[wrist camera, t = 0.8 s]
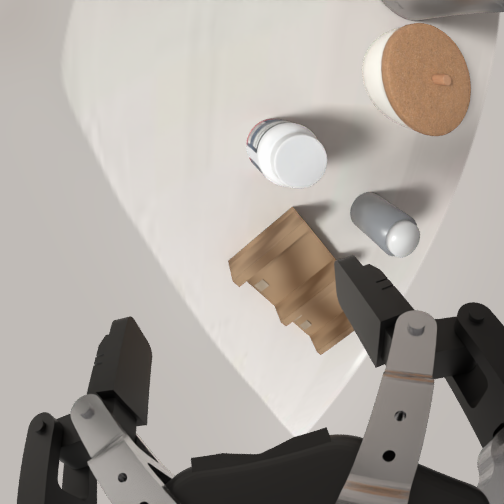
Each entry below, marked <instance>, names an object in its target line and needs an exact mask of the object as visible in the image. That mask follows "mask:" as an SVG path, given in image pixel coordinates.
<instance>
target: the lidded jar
mask: <svg viewBox="0 0 504 504" xmlns="http://www.w3.org/2000/svg"><path fill="white" fill-rule="evenodd" d="M362 75H363V82H364V86H365V89H366V92H367V94H368V96H369V98H370V100H371V101H372V102H373V104H374V105H375V106H376V107H377V108H378V110H379V111H380V112H381V113H382V114H384V115H385V116H386V117H387V118H389V119H390V120H392V121H394V122H395V123H397V124H399V125H401V126H404V127H406V128H409V129H412V130H415V131H417V132H419V133H422V134H425V135H430V136H441V135H445V134H447V133H449V132H451V131H452V130H454V129H455V128H456V127H457V126H458V125H459V124H460V123H461V121H462V120H463V118H464V116H465V114H466V112H467V109H468V106H469V102H470V93H471V85H470V76H469V71H468V68H467V65H466V62H465V60H464V57H463V55H462V53H461V52H460V50H459V48H458V47H457V45H456V44H455V43H454V42H453V41H452V39H451V38H450V37H449V36H447V35H446V34H445V33H444V32H443V31H441V30H440V29H438V28H436V27H434V26H432V25H428V24H424V23H415V24H409V25H405V26H403V27H400V28H397V29H393V30H391V31H389V32H387V33H384V34H383V35H381V36H380V37H379V38H377V39H376V40H375V41H374V42H373V43H372V44H371V45H370V47H369V48H368V50H367V52H366V54H365V57H364V60H363V65H362Z"/></svg>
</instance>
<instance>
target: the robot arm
mask: <svg viewBox="0 0 504 504" xmlns="http://www.w3.org/2000/svg"><path fill="white" fill-rule="evenodd" d="M382 1H383V2H384V4H385V5H386V6H387V7H388V8H390V9H391V10H392V11H393V12H395V13H396V14H397V15H399V16H401V17H403V18H405V19H409V20H414V21H419V20H425V19H431V18H437V17H446V16H454V15H463V14H473V13H488V12H504V0H382ZM334 269H335V281H336V293H337V298H338V301H339V304H340V306H341V308H342V310H343V312H344V313H345V315H346V317H347V318H348V320H349V322H350V324H351V325H352V327H353V329H354V330H355V332H356V334H357V336H358V337H359V339H360V341H361V342H362V344H363V346H364V348H365V349H366V351H367V353H368V355H369V356H370V358H371V360H372V362H373V363H374V365H375V367H379V366H381V365H384V364H385V365H386V369H385V372H384V373H383V377H382V380H381V383H380V387H379V391H378V394H377V397H376V401H375V404H374V407H373V410H372V414H371V417H370V420H369V423H368V426H367V429H366V432H365V435H364V438H361V437H357V436H351V435H329V433H328V430H327V428H323V429H320V430H317V431H314V432H310V433H307V434H304V435H300V436H297V437H293V438H291V439H289V440H287V441H286V442H283V443H282V444H280V445H278V446H276V447H274V448H272V449H269V450H267V451H265V452H263V453H261V454H227V453H226V454H225V453H222V454H216V455H209V456H203V457H196V458H191V464H192V467H190V468H187V469H185V470H183V471H182V472H180V473H179V474H177V475H176V476H175V475H174V474H172V473H171V472H170V471H169V470H168V469H167V468H166V467H165V466H164V465H163V464H162V463H161V462H160V461H159V459H157V457H156V456H155V455H154V454H153V452H152V451H151V450H150V449H149V448H148V446H147V445H146V444H145V443H144V442H143V440H142V439H141V438H140V437H139V435H138V434H136V426H142V425H147V414H148V399H149V386H150V374H151V363H152V352H151V348H150V345H149V343H148V341H147V340H146V338H145V336H144V335H143V333H142V332H141V330H140V328H139V327H138V325H137V323H136V322H135V320H134V319H133V318H132V317H126V318H122V319H118V320H114V321H113V322H112V326H111V329H110V333H109V335H106V336H105V337H104V339H103V340H102V342H101V343H100V345H99V347H98V351H97V357H96V358H95V362H94V364H95V366H93V370H92V374H91V379H90V382H89V387H88V392H87V395H84V396H82V397H80V398H79V399H78V400H77V401H76V402H75V403H74V405H73V407H72V409H71V414H69V415H66V416H63V417H61V418H58V419H55V418H54V417H53V416H51V415H50V414H49V413H46V412H43V413H40V414H38V415H37V416H35V417H34V418H33V420H32V421H31V423H30V425H29V429H28V433H27V438H26V443H25V448H24V454H23V459H22V465H21V473H20V479H19V487H18V497H17V504H97V481H98V482H99V484H100V486H101V487H102V489H103V490H104V492H105V494H106V495H107V496H108V498H109V499H110V501H111V503H112V504H504V326H503V325H502V323H501V322H500V321H499V320H498V319H497V318H496V316H495V315H494V314H493V313H492V312H491V310H490V309H489V308H487V307H486V306H484V305H482V304H480V303H474V302H473V303H467V304H465V305H463V306H462V307H461V308H460V309H459V311H458V314H457V317H450V318H444V319H434V318H433V317H432V316H431V315H429V314H428V313H426V312H423V311H418V310H414V309H413V308H412V307H411V305H410V304H409V303H408V302H407V300H406V299H405V298H404V297H403V296H402V294H401V293H400V292H399V291H398V290H397V289H396V287H395V286H393V284H392V283H391V282H390V280H388V279H387V277H386V276H385V275H384V273H383V272H382V271H381V270H380V269H378V268H376V267H374V266H372V265H370V264H368V265H365V266H362V264H361V263H360V262H359V261H358V260H357V258H356V257H355V256H350V257H346V258H343V259H340V260H336V261H335V262H334ZM443 377H445V379H446V381H447V382H448V384H449V386H450V387H451V389H452V391H453V393H454V394H455V396H456V398H457V400H458V402H459V403H460V405H461V407H462V409H463V411H464V413H465V414H466V416H467V418H468V420H469V422H470V424H471V426H472V428H473V430H474V432H475V433H476V435H477V437H478V439H479V441H480V444H481V446H482V447H483V449H482V450H481V452H480V454H479V456H478V462H477V465H478V470H479V476H480V478H479V483H478V486H477V487H475V486H473V485H471V484H468V483H466V482H463V481H460V480H457V479H455V478H452V477H450V476H447V475H445V474H442V473H440V472H437V471H435V470H432V469H430V468H427V467H425V466H423V465H420V464H418V461H419V457H420V454H421V450H422V446H423V441H424V437H425V432H426V428H427V423H428V418H429V413H430V407H431V401H432V394H433V389H434V379H437V378H443ZM59 460H60V461H61V462H63V463H64V471H63V483H62V489H61V488H60V486H59V484H58V467H59Z"/></svg>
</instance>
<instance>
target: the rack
mask: <svg viewBox="0 0 504 504" xmlns="http://www.w3.org/2000/svg"><path fill="white" fill-rule="evenodd" d="M335 261H336V259H335V258H334V257H333V256H332V254H331V253H330V252H329V251H328V249H327V248H326V247H325V246H324V244H323V243H322V242H321V241H320V239H319V238H318V237H317V236H316V234H315V233H314V232H313V231H312V230H311V228H310V227H309V226H308V225H307V223H306V222H305V221H304V220H303V219H302V217H301V216H300V215H299V214H298V213H297V211H296V210H295V209H294V208H293V207H292V208H290V209H289V210H288V211H287V212H286V213H284V214H283V215H282V216H281V217H280V218H278V219H277V220H276V221H275V222H274V223H273V224H271V225H270V226H269V227H268V228H267V229H265V230H264V231H263V232H262V233H261V234H259V235H258V236H257V237H256V238H255V239H254V240H252V241H251V242H250V243H249V244H248V245H246V246H245V247H244V248H243V249H242V250H241V251H239V252H238V253H237V254H236V255H235V256H234V257H232V258H231V259H230V260H229V261H228V262H229V267H230V271H231V276H232V280H233V282H234V283H235V284H237V285H238V286H239V287H240V286H241V285H243V284H244V283H245V282H246V281H247V282H248V283H249V284H250V285H252V286H253V287H254V288H255V289H256V290H257V291H258V292H259V293H261V294H262V295H263V296H264V297H265V298H266V299H267V300H269V301H270V302H271V303H272V304H273V305H274V306H275V308H276V311H277V313H278V316H279V318H280V321H281V323H283V324H284V325H285V326H287V325H289V324H290V323H291V322H294V323H295V324H296V325H297V326H298V327H300V328H301V329H302V330H303V331H304V332H305V333H306V334H308V335H309V336H310V338H311V340H312V342H313V344H314V346H315V349H316V351H317V352H318V353H319V354H320V355H321V354H323V353H324V352H326V351H327V350H329V349H330V348H331V347H333V346H334V345H335V344H337V343H338V342H340V341H341V340H342V339H344V338H345V337H346V336H348V335H349V334H350V333H352V332H353V331H354V329H353V327H352V325H351V324H350V322H349V320H348V318H347V317H346V315H345V313H344V312H343V310H342V308H341V306H340V304H339V301H338V298H337V293H336V281H335V269H334V262H335Z"/></svg>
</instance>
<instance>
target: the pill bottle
mask: <svg viewBox="0 0 504 504" xmlns="http://www.w3.org/2000/svg"><path fill="white" fill-rule="evenodd" d="M246 150H247V154H248V156H249V158H250V160H251V162H252V163H253V164H254V165H255V166H256V167H257V168H258V169H259V171H260V172H261V173H262V174H263V175H264V176H265V177H266V178H267V179H268V180H269V181H271V182H273V183H274V184H276V185H279V186H283V187H292V188H298V189H302V188H307V187H310V186H312V185H314V184H315V183H317V182H318V181H319V180H320V179H321V178H322V176H323V175H324V173H325V170H326V167H327V154H326V151H325V148H324V147H323V145H322V144H321V143H320V142H319V141H318V139H317V137H316V136H315V135H314V133H313V132H312V131H311V130H309V129H308V128H306V127H305V126H303V125H300V124H297V123H293V122H289V121H285V120H281V119H266V120H263V121H261V122H259V123H257V124H256V125H255V126H254V127H253V128H252V129H251V131H250V132H249V134H248V137H247V140H246Z"/></svg>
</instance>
